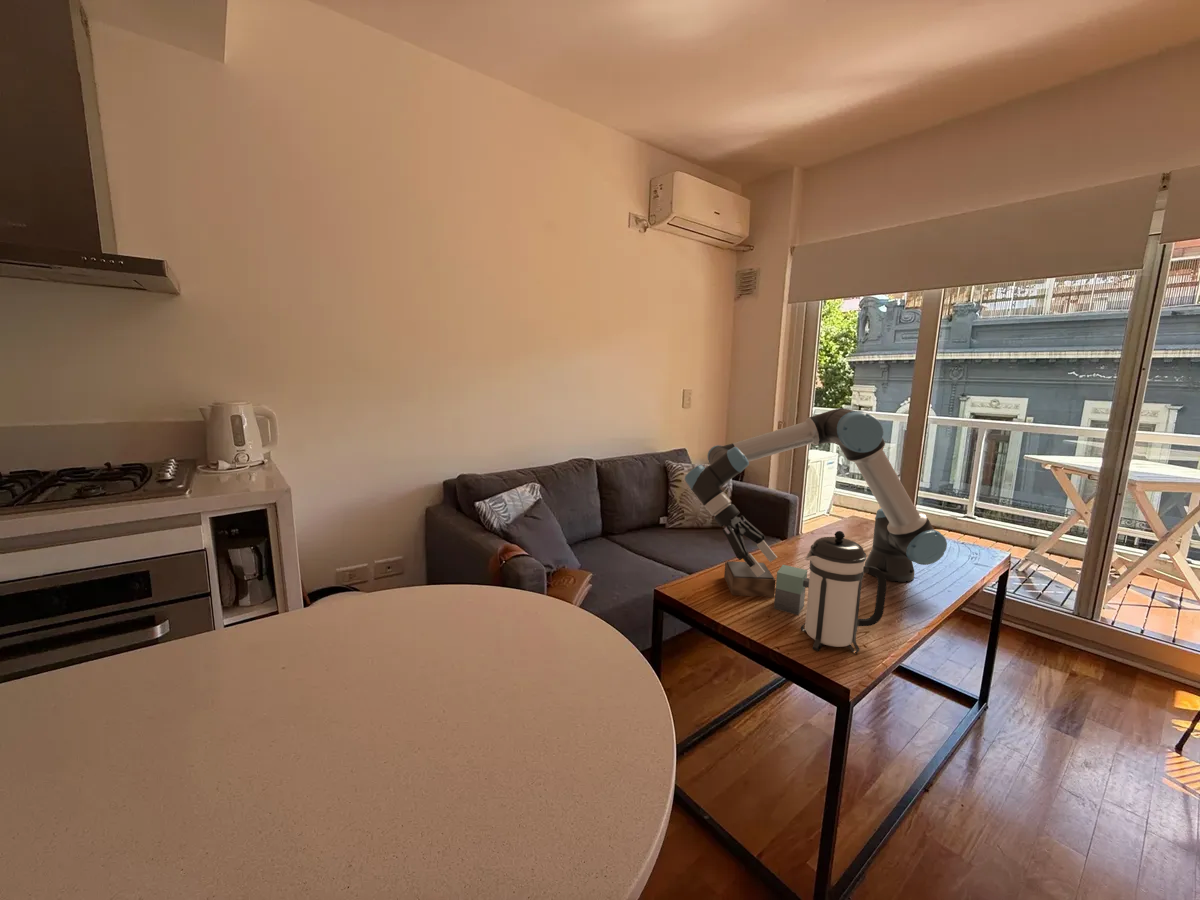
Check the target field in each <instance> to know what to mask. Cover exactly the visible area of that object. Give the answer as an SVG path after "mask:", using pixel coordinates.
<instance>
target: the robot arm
mask: <svg viewBox="0 0 1200 900" xmlns="http://www.w3.org/2000/svg"><path fill="white" fill-rule="evenodd" d="M883 436H884V428H883V425H882V423H881V422H880V420H879V419H878V418H877V417H876V416H874V415H872V414H871V413H868V412H866V411H862V410H855V409H854V410H853V409H849V408H835V409H832V410H829V411H824V412H822V413H819V414H816V415H813V416H809V417H807V418H806V419H805V421H802V422H800V423H797V424H794V425H790V426H787V427H783V428H780V429H776V430H773V431H769V432H766V433H762V434H760V435H756V436H752V437H749V438H746V439H744V440H743V439H742V440H739V441H736V442H732V443H729V444H725V445H720V444H719V445H714V446H713V447H710V449H709V450H708V452H707V461H708V463H709V464H710V465H707V466H706V467H705V466H704V465H702V464H698V465H697V466H695V467H694V468H692V469H691V470H690V471H689V472H688V473H686V475H685V476H684V481H685V483H686V484H687V485H688V487H689V489H690V490H691V492H692V493H693V494H694V495H695V496H696V498H697V499H698V500H699V501H700V502H701V504H702V505H703V506H704V508H705V509H706V512H709V514H710V515H711V516H714V517H713V518H714V521H715V522H716V523H717V525H718V526H719V527H723V526H725V527H724V528H723V529H722V532H723V534H724V535H725V536H726V539H727V540H728V542H729V544H730V547H731V549H732V550H733V553H734V556H735V557H736V558H737V559H738V561H739V560H740V561H741V560H744V561H743V562H746V563H747V565H748V566H749V567H750V568H751V570H752V571H753V572H754V574H755V575H756V576H757V577H758V576H760V575H761V574H763V573H764V572H765V571H764V570H763V568H762V567H761V566H760V564H759V563H760V562H759V561H757V559H756V558H755V556H753V554H752V553H751V552H750V553H749V550H748V548H747V546H746V543H745V540H744V536H745V537H747V539H749V540H751V541H753V542H754V543H756V546H757V548H758V549H759V550H760V552H761V553H762V554H763V555H764V556H765V558H766V559H767V560H768V562H769V563H771V562H773V561H775V560H776V559H777V558H778V556H777V555H776V553H774V551H773V550H772V549H771V547H770V546H769V545H768V543H767V542H766V541H765V539H766V535H764V533H762V531H760V530H759V529H758V528H757V527H755V526H754V525H753V524H752V523H751V522H749V520H747V519H746V518H745V516H744V515H740V513H741V512H740V511H739V509H738V508H737V506H736V505H735V504H733V503H732V500H731V499H730V497H729V496H728V495H727V493H725V492H724V490H723V489H722V488H721V487H722V486H724V485H725V484H726V483H728V482H729V481H731V480H732V479H733V478H735V477H736V476H737V475H738V474H741V473H742V472H743V471H745V469H746V468H747V467H749V465H750V462H753V461H756V460H760V459H762V458H765V457H770V456H774V455H777V454H780V453H783V452H787V451H791V450H794V449H798V448H800V447H804V446H808V445H810V444H812V445H813V446H819V445H823V444H836V445H838V447H839V448H840V450H841V452H842V453H843V455H844V456H845V458H846V460H847V461H848V462H851V463H855V465H856V467H857V468H858V470H859V472H860V474H861V476H862V477H863V479H864V481H865V482H866V484H867V486H868V488H869V490H870V491H871V493H872V495H873V497H874V498H875V500H876V502H877V503H878V505H879V507H880V508H879V509H878V510H877V511H876V513H875V518H874V520H875V521H874V529H873V536H872V537H873V538H872V547H871V551H870V552H869V554H868V556H867V557H866V560H865V562H864V566H872V567H875V568H878V569H879V570H880V571H881V572H882V573H883V574H884V576H885V578H886V581H889V580H890V582H895V581H898V582H897V583H907V582H906V581H908V582H912V581H913V580H914V579H913V578H915V569H914V564H913V563H916V564H918V565H922V566H927V565H932V564H935V563H936V562H938V561H939V560H941V558H943V556H944V555H945V552H946V551H947V546H948V543H947V539H946V537H945V536H944V535H943V534H942V533H941V531H940V530H939V531H938V530H936V529H935V528H934V527H933V525H932V523H931V522H930V519H929V518H928V517H927V515H926V514H925V513H924V512H922V511H918V510H917V507H916V506H915V505H914V503H913V500H912V499H911V497H910V496H909V494H908V492H907V490H906V488H905V487H904V485H903V484H902V481H901V480H900V477H899V476H898V474H897V472H896V471H895V469H894V467H893V466H892V464H891V462H890V461H889V458H888V457H887V455H886V452H885V451H884V448H885V446H886V441H885V440H884V438H883ZM738 515H740V516H738ZM870 576H873V577H875V578H877V577H876V576H875V575H874V574H870ZM912 579H913V580H912ZM911 580H912V581H911Z"/></svg>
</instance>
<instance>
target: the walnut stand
mask: <svg viewBox="0 0 1200 900" xmlns="http://www.w3.org/2000/svg"><path fill="white" fill-rule="evenodd" d="M758 563H759V564H760V566H761V567H762V568H763V570H764V571H765V572H764V573H763V574H761V575H760V576H758V577H757V576H756V575H755V574H754V572H753V571H752V570H751V568H750V567H749V566H748V565H747V563H746V562H745V561H733V560H731V561H730V560H729V561H728V560H727V561H724V573H723V574H724V577H723V578H724V580H725V582H727V583H726V585H727V587H728V589H729V591H730V594H731V595H732V596H749V597H770V598H771V597H772V598H773V597H774V598H775V588H776V579H775V576H774V575H773V574H772V573H771V571H770V569H769V568H768V567H767V565H766V563H765V562H758Z"/></svg>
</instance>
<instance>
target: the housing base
mask: <svg viewBox="0 0 1200 900" xmlns="http://www.w3.org/2000/svg"><path fill="white" fill-rule="evenodd" d="M806 588H807V587H805V588H804V590H803V592H802V594H801V595H800V594H796V593H792V592H788V591H784V590H780V589H776V587H775V594H774V603H773V609H774V610H778V611H781V612H785V613H789V614H793V615H796V616H799V615H800V614H801V612H802V610H803V608H804V606H805V599H806V598H805V597H806V596H805V595H806Z"/></svg>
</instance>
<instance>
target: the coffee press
mask: <svg viewBox="0 0 1200 900" xmlns="http://www.w3.org/2000/svg"><path fill="white" fill-rule="evenodd" d="M804 560H805V561H809V569H810V570H809V578H808V579H809V588H808V590H807V600H806V601H807V602H806V610H805V611H806V612H805V621H804V623H803V624H802V625H801V626H800V630H801V631H802V632H805V633H807V635H808V636H809V637H810V638H811V639H813V640H814V642H813V645H812V650H813V651H816V652H820V651H821V648H822V647H823V645H824V646H825V645H826V646H829V647H835V648H836V647H837V648H839V647H840V648H841V647H847V648H848V649H849V650H850V651H851V653H852V652H854V651H856V652H855V653H856V654H857V653H858V652H860V647H859V645H858V644H857V641H856V639H857V631H858V627H870V626H874V625H875V624H877V623H878V622H879V621H880V620H881V619H882V617H883V614H884V609H885V604H886V603H885V602H886V596H887V595H886V594H887V580H886V578H885V576H884V574H883V573H882V572H881V571H880V570H879V569H878V568H875V567H872V566H865V561H866V560H867V554H866V552H865V550H864V548H863V546H861V545H860V544H859V543H857V542H855V541H854V540H851V539H848V538H845V533H844V532H843V531H841V530H837V531H835V533H834V535H833V536H824V537H820V538H818V539H816V540H814V542H813V544H811V545H810V550H809V551H808V553H807V554H806V556H805V558H804ZM865 574H869V575H871V574H874V575H875V576H876V577H875V576H874V577H875V578H876V579H877V589H876V598H875V606H874V611H873V613H872V614H871V616H870V617H868V618H859V611H860V602H861V593H862V585H863V584H862V583H863V578H864V575H865ZM852 644H853V646H852ZM854 648H855V649H854Z"/></svg>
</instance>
